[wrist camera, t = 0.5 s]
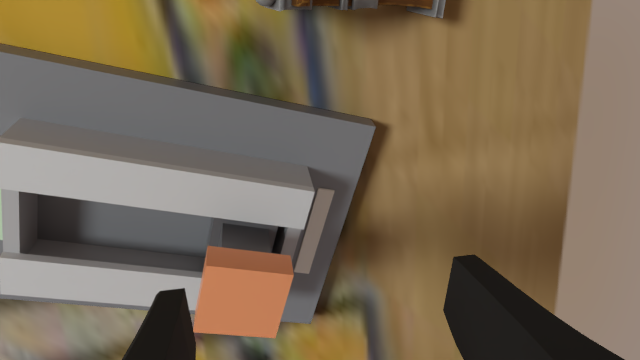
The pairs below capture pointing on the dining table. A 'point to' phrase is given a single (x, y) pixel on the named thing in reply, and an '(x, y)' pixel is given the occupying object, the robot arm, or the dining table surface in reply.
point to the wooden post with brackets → (359, 5)
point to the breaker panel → (186, 125)
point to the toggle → (242, 281)
